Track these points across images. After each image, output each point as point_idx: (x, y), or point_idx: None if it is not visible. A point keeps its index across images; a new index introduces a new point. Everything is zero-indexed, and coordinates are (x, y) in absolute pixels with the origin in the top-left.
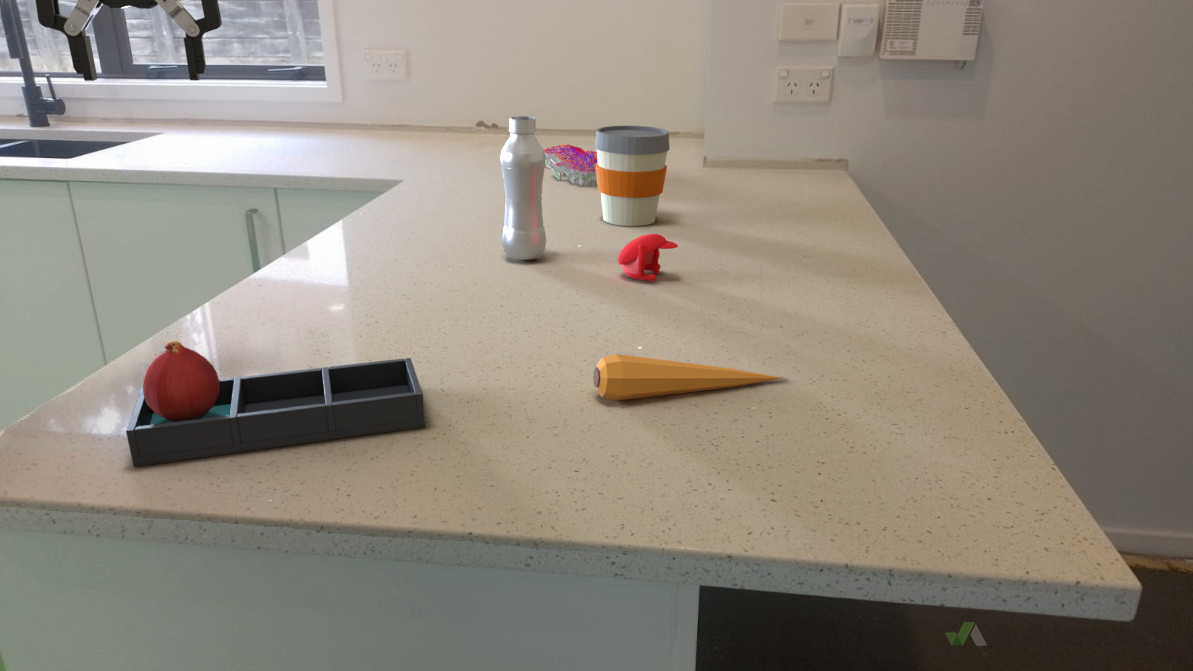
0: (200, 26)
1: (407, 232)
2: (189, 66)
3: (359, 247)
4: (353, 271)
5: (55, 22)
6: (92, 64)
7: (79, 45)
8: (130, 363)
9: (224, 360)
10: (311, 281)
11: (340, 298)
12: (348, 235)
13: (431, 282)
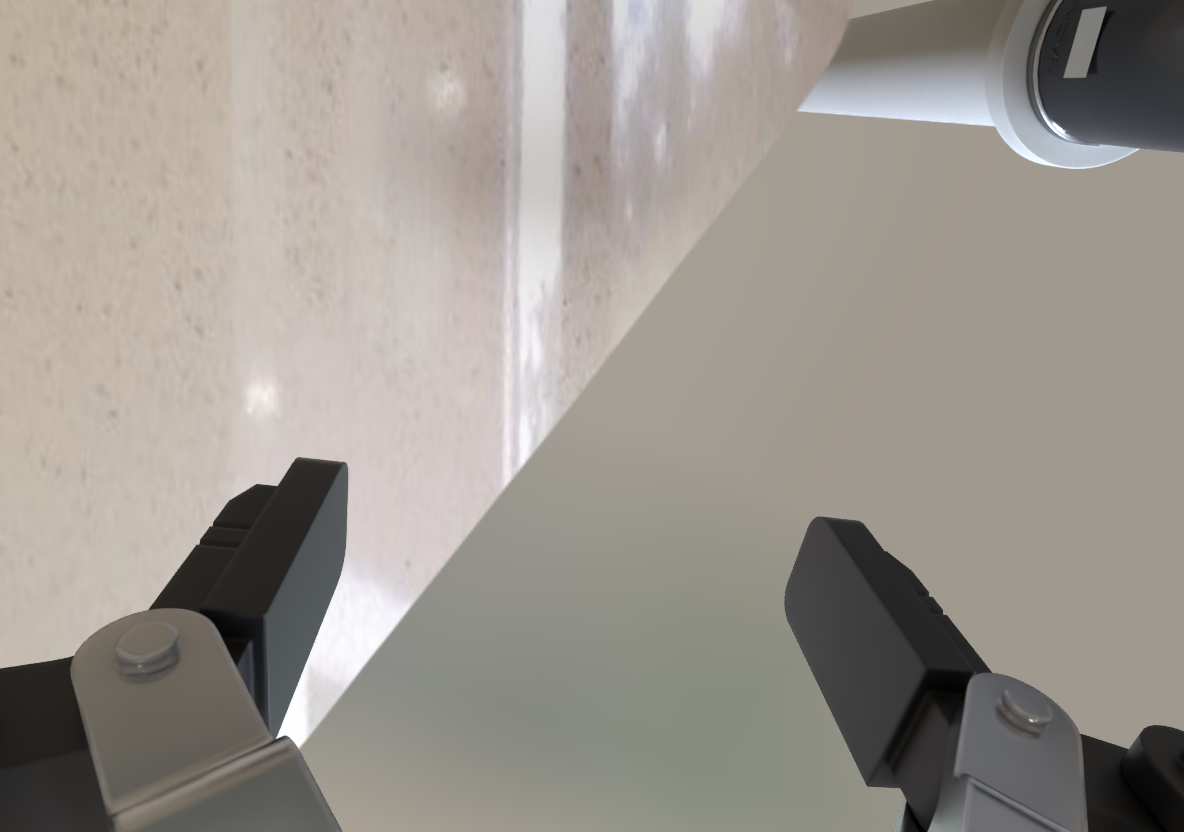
0: (61, 702)
1: None
2: (317, 495)
3: None
4: None
5: (1129, 775)
6: (823, 613)
7: (934, 629)
8: (651, 267)
9: (493, 206)
10: None
11: (252, 444)
12: None
13: (44, 467)
